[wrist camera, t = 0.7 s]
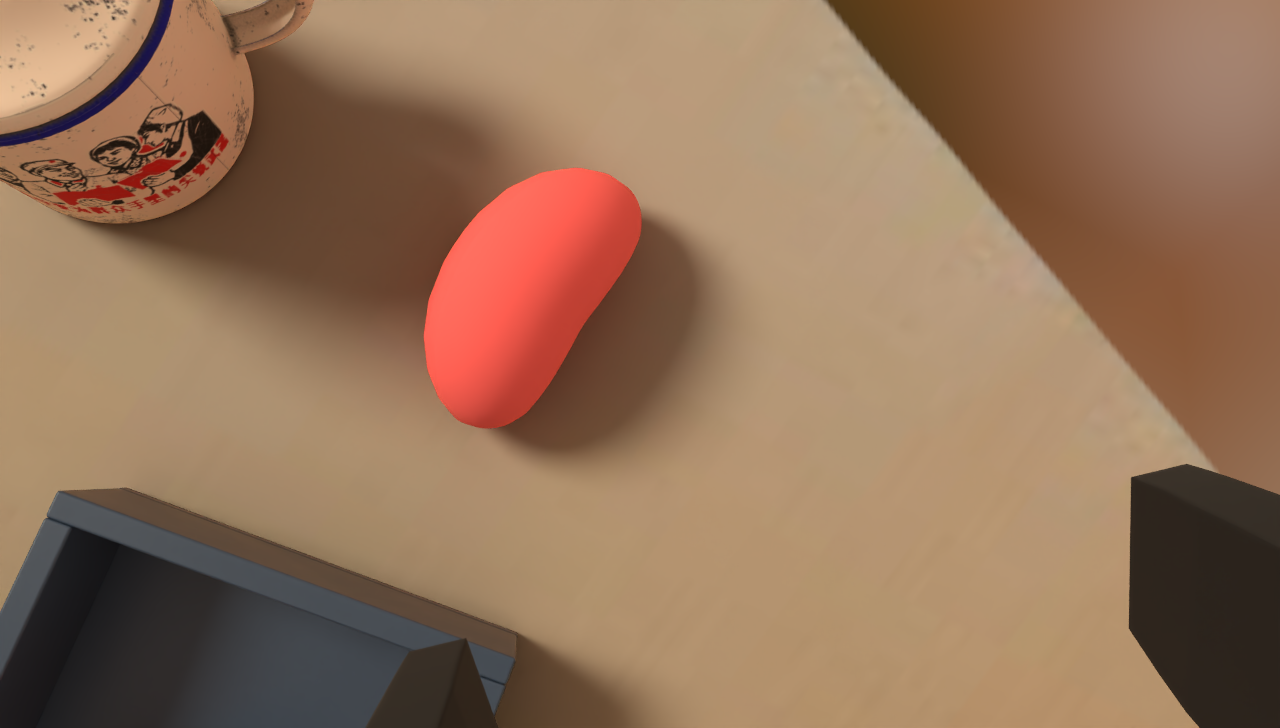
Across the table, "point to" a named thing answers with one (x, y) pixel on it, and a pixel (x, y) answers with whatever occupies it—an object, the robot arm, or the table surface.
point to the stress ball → (525, 290)
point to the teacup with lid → (128, 99)
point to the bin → (206, 626)
